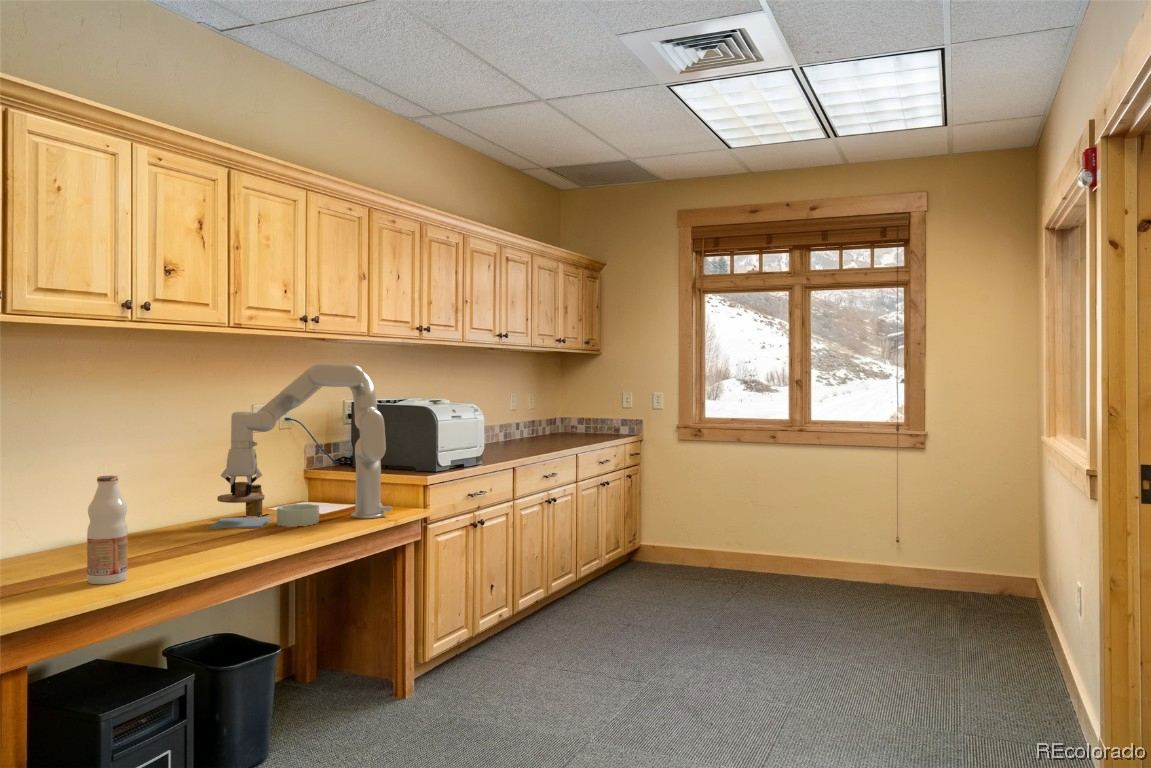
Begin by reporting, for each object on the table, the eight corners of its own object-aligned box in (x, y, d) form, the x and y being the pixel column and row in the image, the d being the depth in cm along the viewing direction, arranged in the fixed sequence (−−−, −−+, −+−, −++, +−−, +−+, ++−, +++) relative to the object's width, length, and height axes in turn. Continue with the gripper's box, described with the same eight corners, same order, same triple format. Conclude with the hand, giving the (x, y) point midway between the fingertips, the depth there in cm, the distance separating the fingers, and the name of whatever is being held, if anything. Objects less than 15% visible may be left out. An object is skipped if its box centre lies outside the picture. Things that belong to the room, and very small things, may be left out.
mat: (272, 519, 315) (272, 517, 315) (261, 528, 298) (261, 526, 298) (222, 520, 313) (222, 517, 313) (208, 529, 295) (208, 526, 295)
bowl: (320, 519, 316) (320, 503, 316) (314, 526, 302) (314, 509, 302) (282, 520, 314) (282, 504, 314) (274, 527, 300) (274, 510, 300)
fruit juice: (91, 587, 216) (92, 479, 216) (83, 580, 223) (83, 476, 223) (131, 581, 223) (132, 476, 222) (121, 574, 230) (122, 473, 229)
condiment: (240, 516, 320) (240, 485, 320) (256, 513, 328) (256, 483, 328) (255, 518, 318) (256, 486, 318) (271, 514, 326) (271, 484, 326)
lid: (268, 496, 314) (268, 479, 314) (258, 502, 298) (259, 485, 298) (224, 496, 312) (224, 479, 312) (211, 502, 296) (212, 485, 296)
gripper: (268, 444, 310) (267, 493, 310) (220, 444, 307) (219, 493, 307) (263, 446, 302) (262, 496, 302) (214, 446, 300) (214, 496, 300)
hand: (241, 494), depth 305 cm, fingers closed on lid, 4 cm apart
